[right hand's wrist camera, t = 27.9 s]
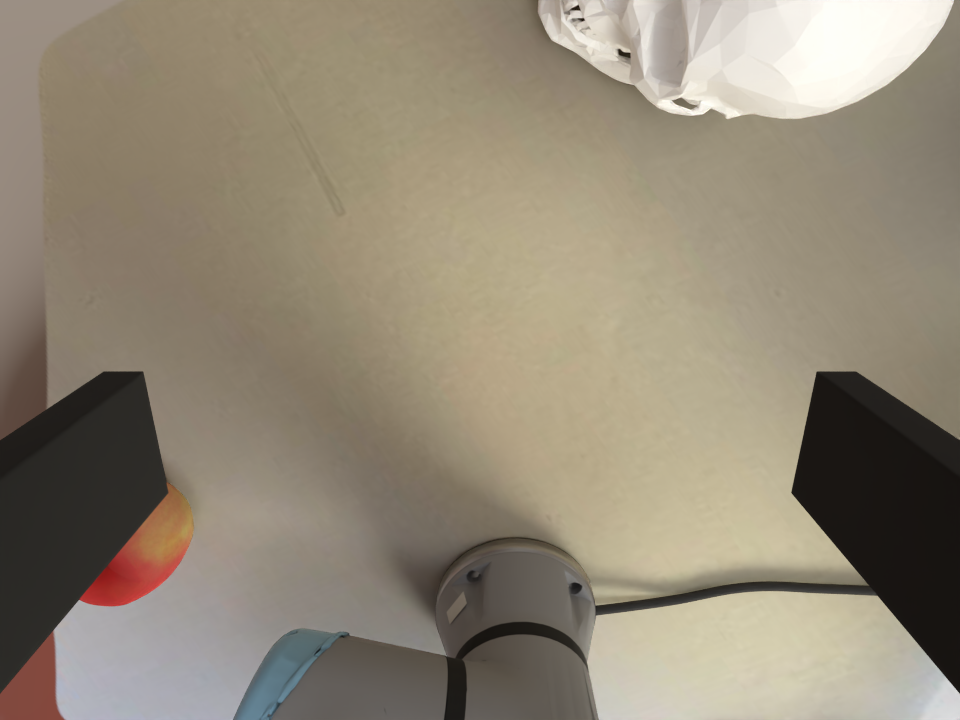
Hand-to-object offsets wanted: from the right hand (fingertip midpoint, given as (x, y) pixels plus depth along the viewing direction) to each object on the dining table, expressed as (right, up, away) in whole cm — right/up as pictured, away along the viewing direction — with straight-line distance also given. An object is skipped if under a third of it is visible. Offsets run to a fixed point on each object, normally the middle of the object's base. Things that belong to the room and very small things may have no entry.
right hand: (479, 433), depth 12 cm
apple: (-29, -11, +44) cm, 54 cm away
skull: (+15, +25, +30) cm, 42 cm away
